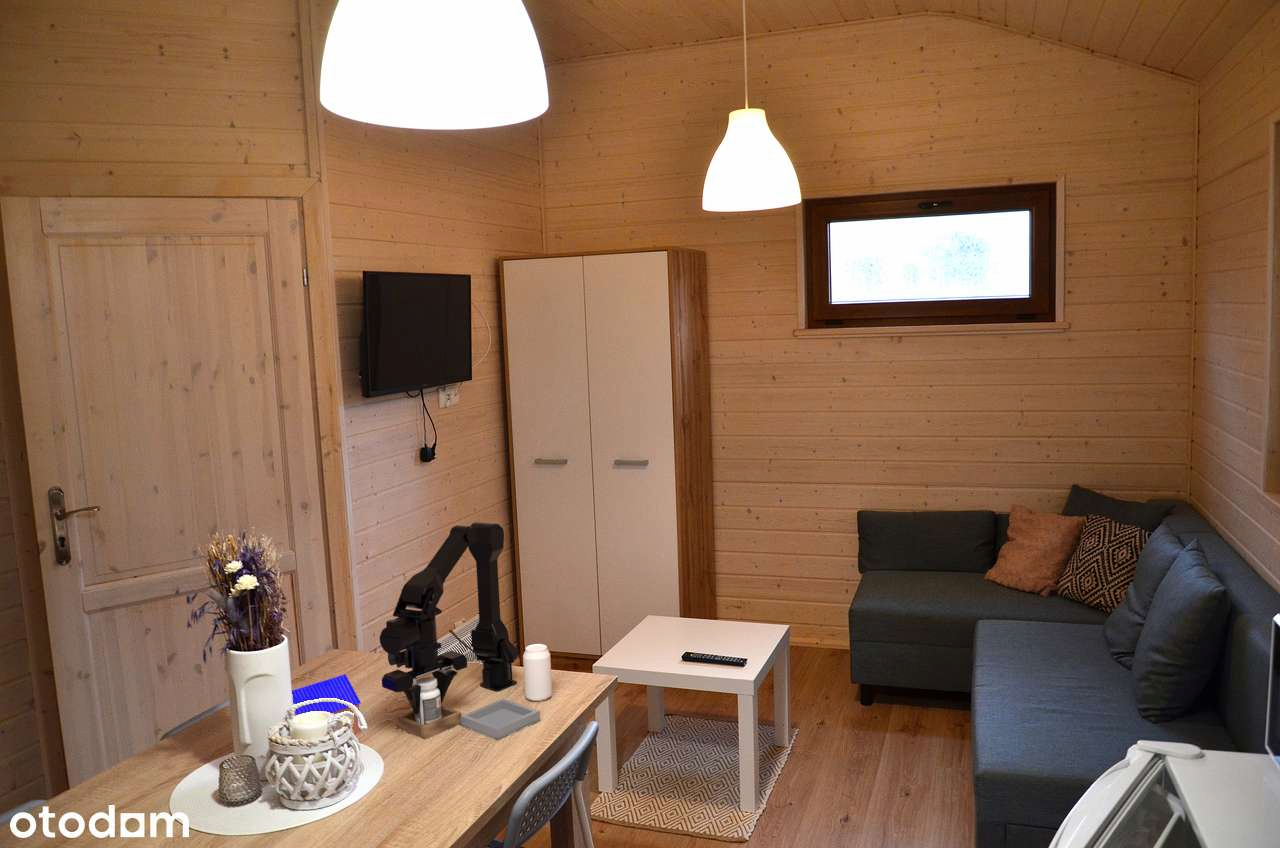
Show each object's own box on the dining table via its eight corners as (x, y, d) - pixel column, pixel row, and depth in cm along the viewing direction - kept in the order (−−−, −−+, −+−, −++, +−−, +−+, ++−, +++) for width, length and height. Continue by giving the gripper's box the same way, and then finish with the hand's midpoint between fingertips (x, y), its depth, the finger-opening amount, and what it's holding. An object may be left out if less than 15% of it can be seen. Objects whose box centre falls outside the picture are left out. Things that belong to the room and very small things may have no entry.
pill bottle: (445, 719, 217) (443, 675, 216) (437, 730, 212) (435, 685, 211) (420, 719, 218) (417, 675, 217) (411, 730, 212) (409, 685, 211)
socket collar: (433, 713, 222) (432, 702, 222) (462, 723, 215) (461, 712, 215) (396, 728, 214) (395, 717, 214) (424, 739, 208) (423, 728, 207)
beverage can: (553, 692, 231) (550, 642, 230) (551, 702, 225) (548, 651, 224) (526, 693, 231) (523, 643, 230) (524, 703, 225) (521, 652, 224)
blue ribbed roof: (363, 732, 213) (359, 680, 212) (273, 765, 199) (268, 709, 198) (335, 718, 222) (332, 668, 220) (247, 748, 208) (243, 694, 206)
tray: (503, 708, 223) (502, 698, 223) (540, 721, 215) (539, 710, 215) (461, 726, 214) (460, 716, 214) (498, 740, 206) (497, 729, 206)
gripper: (435, 621, 225) (439, 687, 227) (364, 644, 211) (369, 714, 213) (466, 630, 218) (470, 698, 219) (395, 654, 204) (400, 727, 205)
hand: (428, 709), depth 214 cm, fingers closed on pill bottle, 6 cm apart
